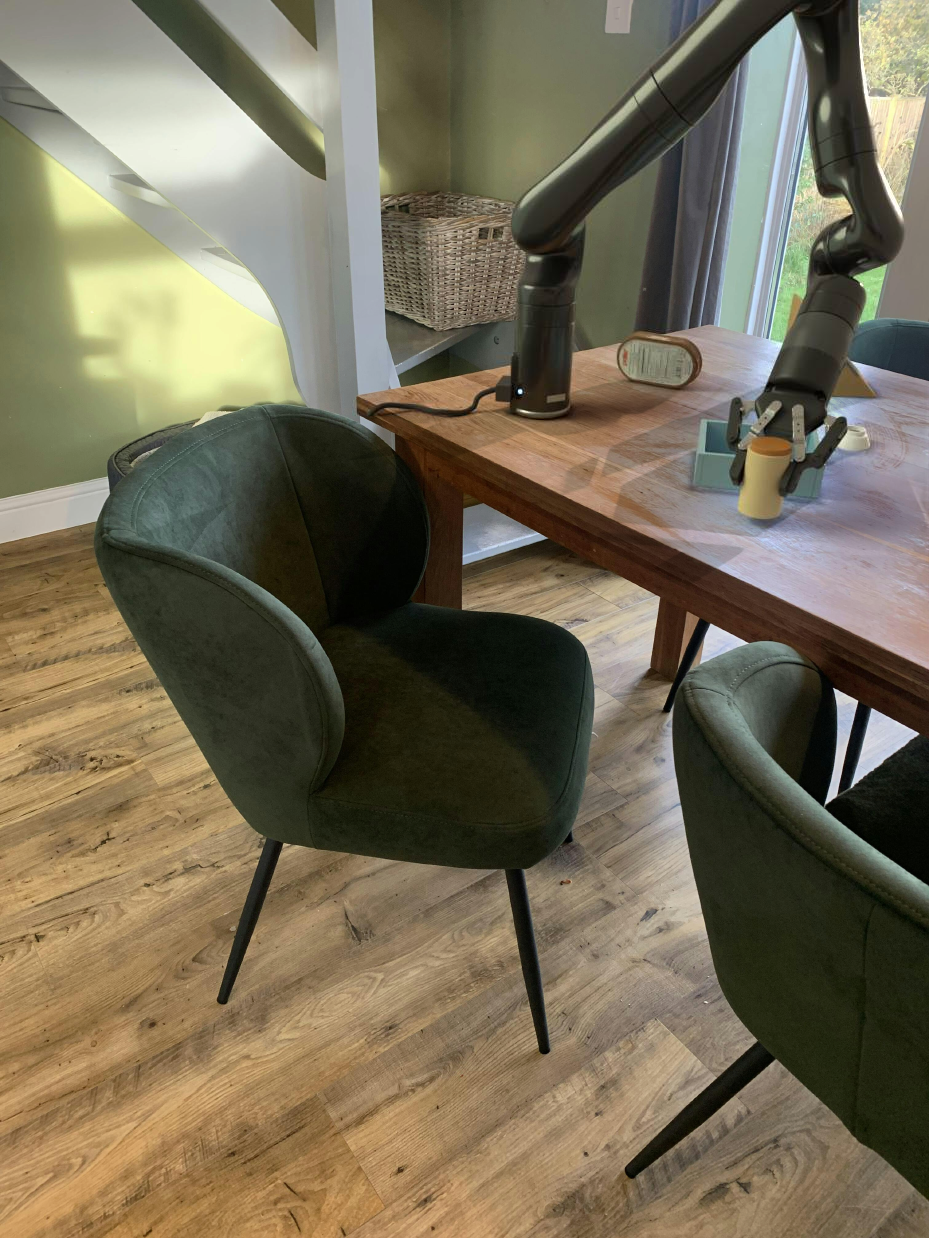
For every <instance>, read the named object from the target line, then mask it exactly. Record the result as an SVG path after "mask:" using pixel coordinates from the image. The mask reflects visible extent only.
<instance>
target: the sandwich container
mask: <svg viewBox="0 0 929 1238" xmlns="http://www.w3.org/2000/svg"><path fill="white" fill-rule="evenodd" d="M803 299H804V298H802V296H800V295H799V294H798V293H796V292H795V293H793V295H792V300H791V306H790V310H789V315H788V321H787V325H786V331H785V335H784V336H785V337H786V335H787V333H788V331H789V330H790V328H791V326H792V325H793V323H794V321H795V318H796V316H797V313H798V311H799V308H800V306H801V304H802V301H803ZM785 337H784V338H785ZM831 397H844V398H845V397H850V398H872V399H873V398H875V399H877V397H878V396H877V395H876V393H875V392H874V390H873V389H872V387H871V386H870V385H869V383H868V382H867V381H866V379H865V377H864V376H863V374H862V373H861V372H860V370H859V368H857V366H856V365H855V364H854V363H853V362H852V361H851V359H850V358H849V357H848V356H847V359H846V364H845V366H844V368H843V370H842V371H841V374H840V376H839V379H838V381H837V384H836V386H835V389H834V391H833V394H832V396H831Z"/></svg>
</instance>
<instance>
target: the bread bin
mask: <svg viewBox="0 0 929 1238" xmlns="http://www.w3.org/2000/svg"><path fill="white" fill-rule="evenodd" d="M754 424H755V422H754V423H752V422H742V429H741V436H740V439H743V438H744V437H745V436H746V435H747V434H748V433H749V431H750V428H751V427H752V426H753V425H754ZM727 427H728V420H719V419H706V418H701V420H700V425H699V433H698V439H697V445H696V451H695V452H696V454H695V464H694V473H693V482H692V486H693V487H698V488H708V489H718V490H728V491H739V492H740V490H741V485H740V486H735V485H733V483H732V480H731V478H730V475H729V470H730V468H731V465H732V463H733V460H734V458H735V455H736V452H735V451H731V450H730V449H729V447H728V444H727V440H726V433H727ZM820 442H821V439H820V436H819V431H818V429H816V430H815V431H813V432H812V433H810V434H809V435H807V436H806V453H813V451H814V450H815V449H816V447H817V446H818V444H819V443H820ZM791 444H792V451H793V454H792V459H791V461H793V459H794V443H791ZM825 471H826V464H825V465H824V466H823V467H822V468H821V469H815V468H814V467H813V468H807V469H805V470H804V471H803V472H802V475H801V477H800V480H799V482H798V485H797V487H796V490H795V491H794V492H793V493H792V494H790V493H788V496H787V497H798V498H799V497H800V498H806V499H807V498H808V499H819V495H820V490H821V488H822V483H823V479H824V474H825ZM741 484H742V482H741Z"/></svg>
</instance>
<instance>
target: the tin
mask: <svg viewBox="0 0 929 1238" xmlns="http://www.w3.org/2000/svg"><path fill="white" fill-rule="evenodd" d="M616 364H617V367H618V369H619V371H620V373H621V374H622V375H623V376H624V377H625V378H626V379H627V380H630V381H632V382H634V383H635V382H636V383H641V384H647V385H651V386H656V387H657V386H658V387H663V388H667V389H674V390H676V389H682V388H685V387H687V386H688V385H690V384H692V383H693V382H694V381H695V380H696V379H697V378H698V377H699V375H700V374H701V372H702V368H703V357H702V353H701V351H700V349H699V347H698V346H697V345H696V344H695V343H694V342H693V341H691V340H689V339H688V338H684V337H679V336H673V335H667V334H661V333H654V332H648V331H641V330H640V331H635V332H633V333H631V334H629V335H628V336H627V337H626V338H625V339H623V341H622V342H621V343H620V344H619V346H618V347H617V351H616Z"/></svg>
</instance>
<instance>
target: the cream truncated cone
mask: <svg viewBox="0 0 929 1238" xmlns="http://www.w3.org/2000/svg"><path fill="white" fill-rule="evenodd" d="M847 427H848V428H847V430H848V431H847V433H846V435H845V436H844V438H843V439H842V440H841V442H840V443H839V445H838V446H837V448H838V449H842V450H846V451H852V452H863V451H867V450H869V449H870V448H871V444H870V439H869V436H868V434H867V429H866V428H865V427H863V426H861V425H853V424H847Z"/></svg>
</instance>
